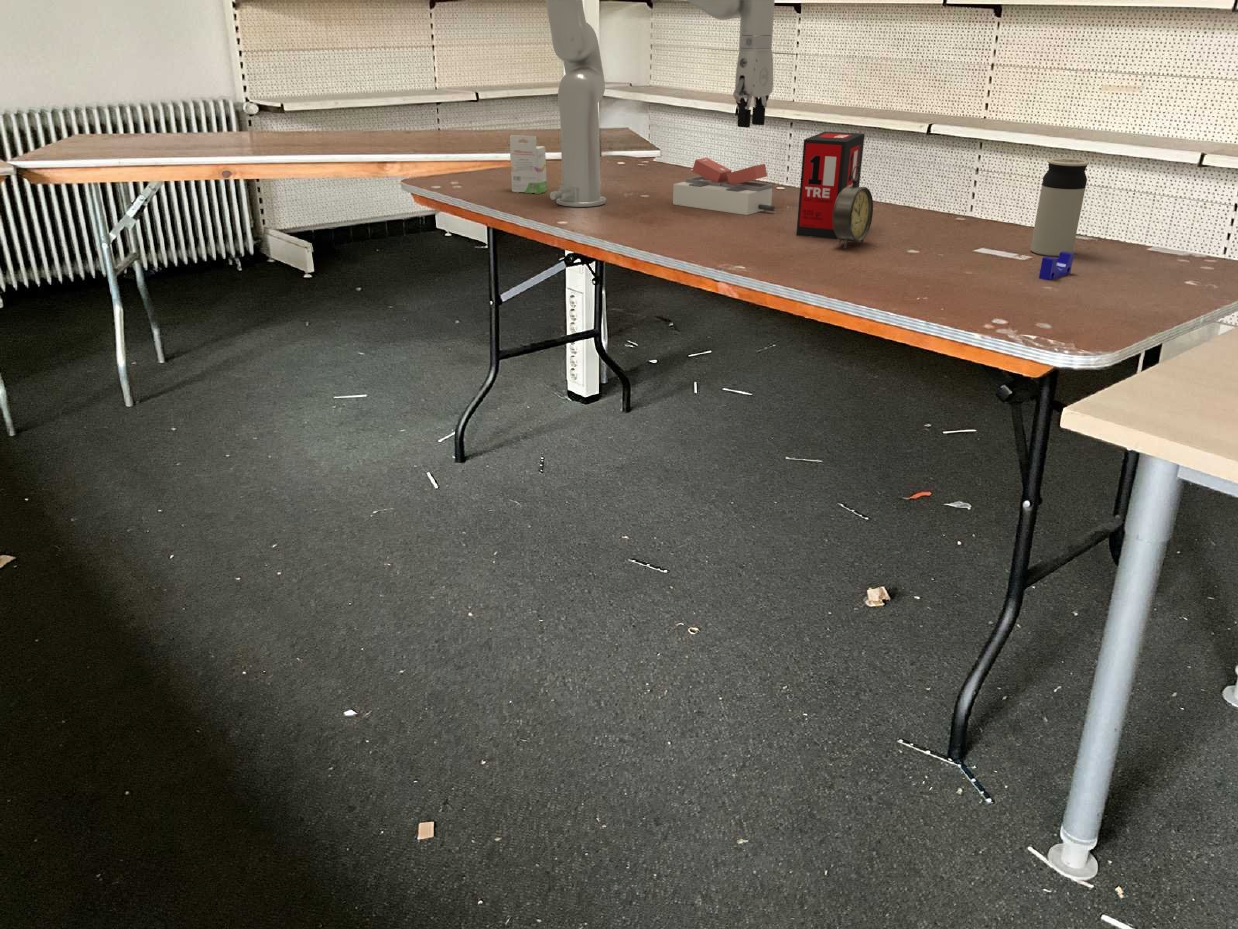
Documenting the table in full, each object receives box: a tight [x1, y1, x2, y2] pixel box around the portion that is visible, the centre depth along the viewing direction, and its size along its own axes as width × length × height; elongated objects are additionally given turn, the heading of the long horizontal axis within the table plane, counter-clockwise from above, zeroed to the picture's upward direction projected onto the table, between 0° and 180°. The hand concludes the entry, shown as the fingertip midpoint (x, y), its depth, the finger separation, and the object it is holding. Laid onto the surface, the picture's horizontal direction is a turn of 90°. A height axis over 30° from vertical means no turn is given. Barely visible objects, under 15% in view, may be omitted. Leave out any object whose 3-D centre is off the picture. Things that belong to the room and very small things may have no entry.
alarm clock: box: [833, 165, 874, 251], centre depth 200 cm, size 11×5×16 cm, turn 143°
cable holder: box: [1038, 252, 1075, 281], centre depth 180 cm, size 8×4×4 cm, turn 131°
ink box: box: [509, 134, 548, 195], centre depth 259 cm, size 9×5×15 cm, turn 65°
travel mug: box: [1029, 157, 1090, 258], centre depth 194 cm, size 8×8×18 cm
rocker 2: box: [727, 163, 768, 185], centre depth 238 cm, size 5×8×3 cm, turn 51°
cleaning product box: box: [795, 130, 866, 240], centre depth 213 cm, size 16×9×20 cm, turn 154°
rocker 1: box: [692, 157, 733, 183], centre depth 244 cm, size 5×8×3 cm, turn 51°
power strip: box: [672, 175, 776, 216], centre depth 241 cm, size 11×26×6 cm, turn 51°
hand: (750, 125), depth 233 cm, fingers open, 5 cm apart
